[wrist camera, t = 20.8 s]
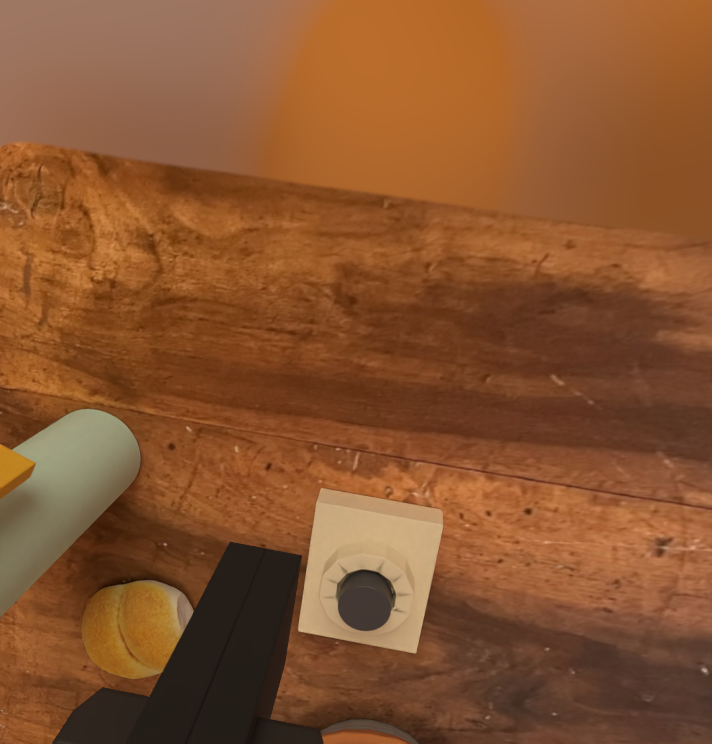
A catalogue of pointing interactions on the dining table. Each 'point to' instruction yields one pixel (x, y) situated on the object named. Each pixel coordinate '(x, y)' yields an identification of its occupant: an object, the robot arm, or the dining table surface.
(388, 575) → the timer
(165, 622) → the bread roll
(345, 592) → the timer button
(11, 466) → the strip
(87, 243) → the dining table surface
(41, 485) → the spray bottle
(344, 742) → the pie
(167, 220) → the dining table surface
